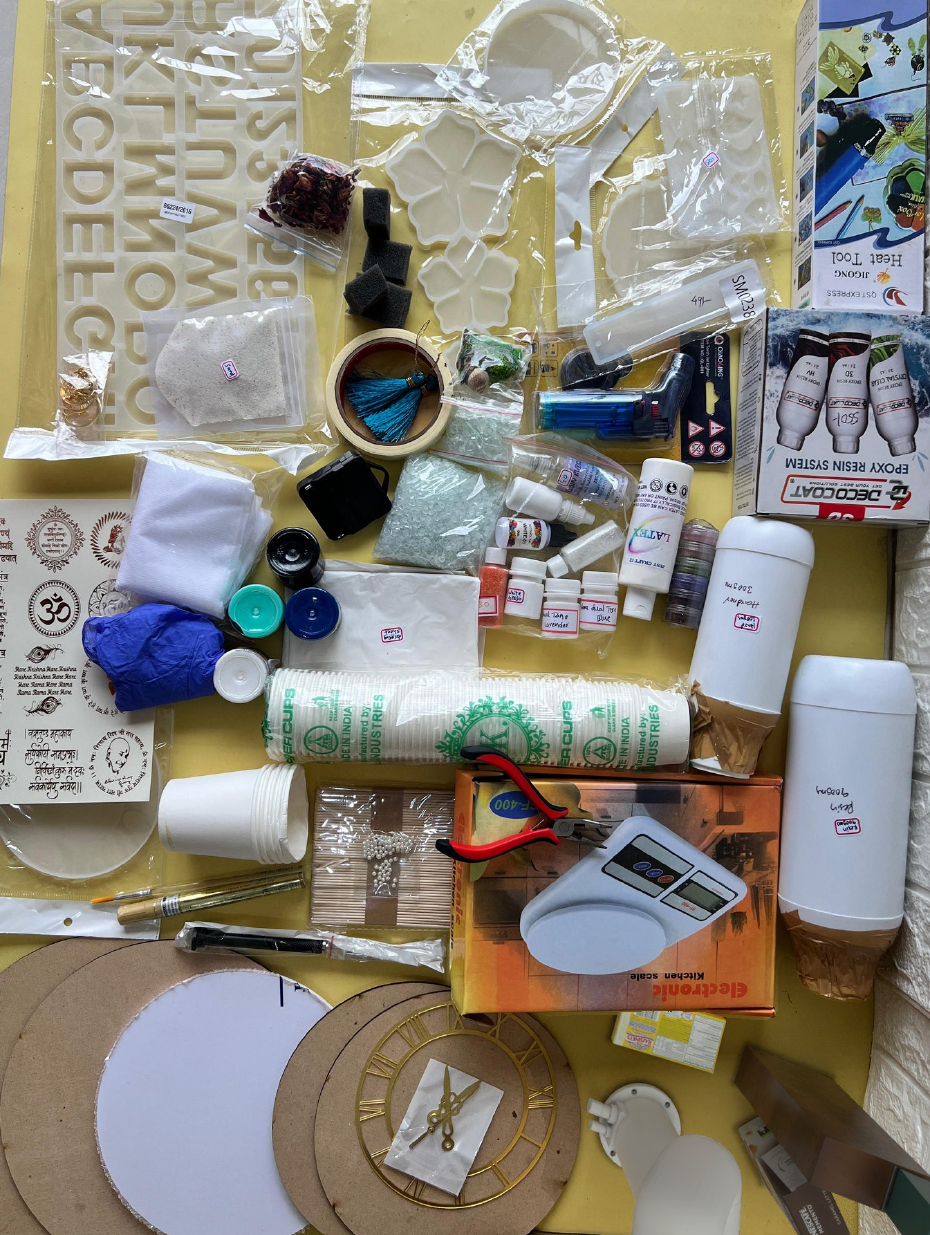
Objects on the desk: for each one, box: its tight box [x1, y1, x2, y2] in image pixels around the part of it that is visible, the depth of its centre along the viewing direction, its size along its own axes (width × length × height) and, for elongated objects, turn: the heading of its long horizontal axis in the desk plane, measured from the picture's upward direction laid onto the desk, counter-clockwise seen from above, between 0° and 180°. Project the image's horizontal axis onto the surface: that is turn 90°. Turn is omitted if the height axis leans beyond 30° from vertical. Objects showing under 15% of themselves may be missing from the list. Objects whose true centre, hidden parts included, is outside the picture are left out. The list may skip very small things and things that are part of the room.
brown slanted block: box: [733, 1045, 930, 1214], centre depth 110 cm, size 14×6×25 cm, turn 69°
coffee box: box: [737, 1115, 851, 1235], centre depth 114 cm, size 9×6×16 cm
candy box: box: [610, 1011, 727, 1075], centre depth 122 cm, size 16×2×8 cm
